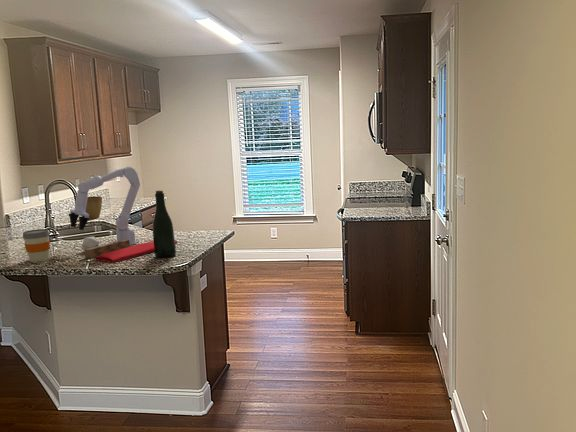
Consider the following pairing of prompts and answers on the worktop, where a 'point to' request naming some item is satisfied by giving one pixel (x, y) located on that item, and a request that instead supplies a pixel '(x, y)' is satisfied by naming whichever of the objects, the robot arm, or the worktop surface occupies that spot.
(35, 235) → the reusable coffee cup
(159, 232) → the dark green wine bottle
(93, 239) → the die
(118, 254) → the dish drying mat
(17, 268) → the worktop surface
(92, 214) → the plant pot
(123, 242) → the brown wooden bar
